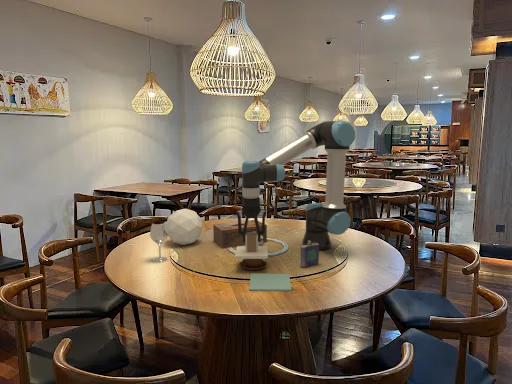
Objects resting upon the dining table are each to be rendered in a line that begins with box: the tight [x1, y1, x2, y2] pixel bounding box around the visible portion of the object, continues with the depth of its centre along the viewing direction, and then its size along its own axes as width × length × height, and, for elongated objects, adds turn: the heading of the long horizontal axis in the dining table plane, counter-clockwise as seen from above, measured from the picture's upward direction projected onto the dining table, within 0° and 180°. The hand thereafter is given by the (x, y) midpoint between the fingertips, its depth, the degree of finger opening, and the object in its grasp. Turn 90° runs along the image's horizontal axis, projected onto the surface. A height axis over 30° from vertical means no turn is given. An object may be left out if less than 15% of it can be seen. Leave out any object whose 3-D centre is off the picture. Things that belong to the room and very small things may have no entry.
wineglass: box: [149, 221, 168, 263], centre depth 177 cm, size 8×8×18 cm
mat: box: [248, 273, 292, 292], centre depth 151 cm, size 16×16×1 cm
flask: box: [299, 240, 320, 269], centre depth 169 cm, size 10×3×12 cm, turn 121°
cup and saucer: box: [239, 259, 268, 271], centre depth 168 cm, size 12×12×6 cm
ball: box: [165, 208, 203, 246], centre depth 204 cm, size 19×20×20 cm
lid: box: [234, 232, 269, 260], centre depth 166 cm, size 14×14×9 cm
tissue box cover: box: [212, 219, 268, 250], centre depth 207 cm, size 26×14×10 cm, turn 114°
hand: (251, 248), depth 166 cm, fingers closed on lid, 4 cm apart
